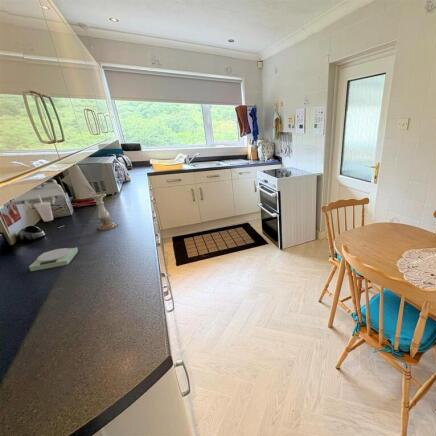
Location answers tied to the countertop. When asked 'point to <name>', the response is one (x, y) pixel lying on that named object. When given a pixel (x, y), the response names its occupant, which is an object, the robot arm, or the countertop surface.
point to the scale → (54, 258)
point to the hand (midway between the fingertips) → (43, 206)
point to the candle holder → (103, 212)
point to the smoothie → (44, 210)
